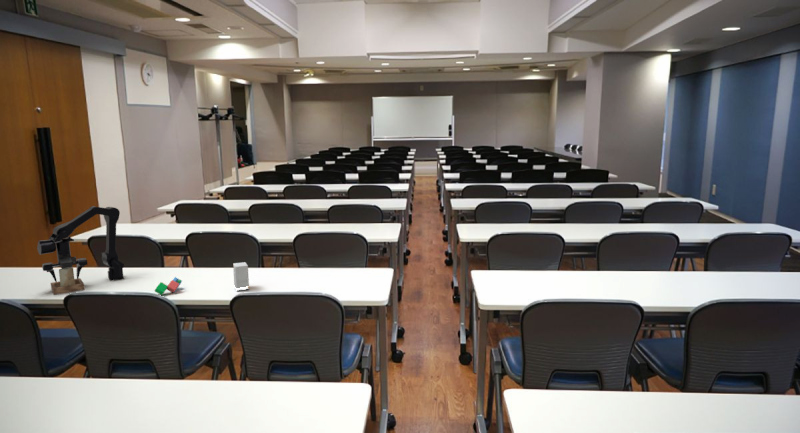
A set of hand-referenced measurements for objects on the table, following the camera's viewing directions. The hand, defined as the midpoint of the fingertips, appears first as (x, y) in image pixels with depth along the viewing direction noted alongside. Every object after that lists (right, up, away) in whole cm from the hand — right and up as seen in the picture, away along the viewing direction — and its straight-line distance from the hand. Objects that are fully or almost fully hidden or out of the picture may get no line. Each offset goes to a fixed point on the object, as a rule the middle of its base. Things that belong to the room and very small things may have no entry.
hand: (67, 280), depth 253 cm
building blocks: (+54, -6, -4) cm, 55 cm away
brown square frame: (0, -4, +1) cm, 4 cm away
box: (0, -5, +1) cm, 5 cm away
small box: (+89, -5, +1) cm, 89 cm away
